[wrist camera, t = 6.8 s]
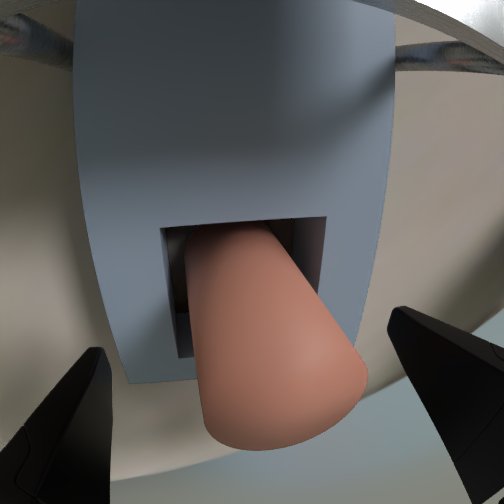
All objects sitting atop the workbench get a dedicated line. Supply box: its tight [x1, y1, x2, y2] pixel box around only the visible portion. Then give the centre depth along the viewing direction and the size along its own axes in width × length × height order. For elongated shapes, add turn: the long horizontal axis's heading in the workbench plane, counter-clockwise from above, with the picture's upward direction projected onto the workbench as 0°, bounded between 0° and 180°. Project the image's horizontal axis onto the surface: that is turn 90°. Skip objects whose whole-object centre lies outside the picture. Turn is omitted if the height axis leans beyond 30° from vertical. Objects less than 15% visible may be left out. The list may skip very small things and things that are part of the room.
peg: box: [184, 220, 368, 451], centre depth 10 cm, size 4×4×8 cm
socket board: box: [73, 0, 395, 384], centre depth 10 cm, size 10×18×3 cm, turn 179°
